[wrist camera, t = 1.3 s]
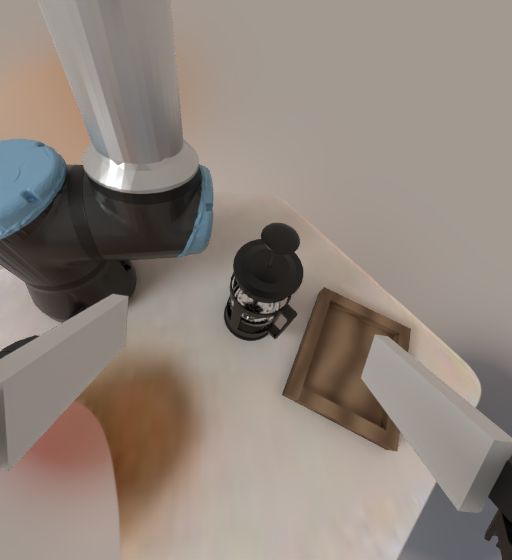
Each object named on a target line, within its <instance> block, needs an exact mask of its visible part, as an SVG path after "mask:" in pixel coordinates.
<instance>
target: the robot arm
mask: <svg viewBox="0 0 512 560" xmlns="http://www.w3.org/2000/svg"><path fill="white" fill-rule="evenodd" d="M37 1H38V4H39V7H40V9H41V12H42V14H43V17H44V20H45V22H46V25H47V27H48V30H49V33H50V35H51V38H52V40H53V43H54V46H55V48H56V51H57V53H58V56H59V59H60V61H61V64H62V66H63V69H64V71H65V74H66V77H67V79H68V82H69V84H70V87H71V89H72V92H73V95H74V97H75V100H76V103H77V105H78V108H79V110H80V113H81V116H82V118H83V121H84V123H85V126H86V128H87V131H88V134H89V136H90V139H91V144H90V145H89V146H88V148H87V149H86V151H85V152H84V155H83V158H82V163H83V165H66V163H65V161H64V159H63V158H62V157H61V155H60V154H58V153H57V152H56V151H55V150H54V149H53V148H51V147H49V146H46V145H45V144H43V143H41V142H38V141H34V140H27V139H11V140H2V141H0V265H2V266H3V267H4V268H6V269H7V270H9V271H10V272H11V273H13V274H14V275H16V276H17V277H18V278H20V279H21V280H23V281H24V282H25V283H26V286H27V288H28V290H29V293H30V295H31V297H32V300H33V302H34V303H35V305H36V306H37V307H38V308H39V309H40V310H41V311H42V312H43V313H45V314H46V315H48V316H49V317H51V318H52V319H54V320H56V321H59V322H62V324H60V325H58V326H56V327H55V328H53V329H51V330H49V331H48V332H46V333H44V334H43V335H41V336H36V335H35V336H32V337H29V338H26V339H23V340H20V341H17V342H15V343H13V344H11V345H9V346H8V347H6V348H4V349H2V351H0V470H1V471H10V469H11V468H12V467H13V466H14V465H15V464H16V463H17V462H18V461H19V459H20V458H22V456H23V455H24V454H25V453H26V452H27V451H28V450H29V449H30V448H31V447H32V446H33V445H34V444H35V442H36V441H37V440H38V439H39V438H40V437H41V436H42V435H43V434H44V433H45V432H46V431H47V430H48V428H49V427H50V426H51V425H52V424H53V423H54V422H55V421H56V420H57V419H58V418H59V417H60V416H61V414H62V413H63V412H64V411H65V410H66V409H67V408H68V407H69V406H70V405H71V404H72V403H73V401H74V400H75V399H76V398H77V397H78V396H79V395H80V394H81V393H82V392H83V391H84V390H85V389H86V387H87V386H88V385H89V384H90V383H91V382H92V381H93V380H94V379H95V378H96V377H97V376H98V375H99V373H100V372H101V371H102V370H103V369H104V368H105V367H106V366H107V365H108V364H109V363H110V362H111V360H112V359H113V358H114V357H115V356H116V355H117V354H118V353H119V352H120V351H121V350H122V349H123V348H124V346H125V342H126V327H127V312H128V300H129V298H130V297H131V295H132V293H133V291H134V288H135V285H136V272H135V269H134V267H133V265H132V263H131V261H130V260H142V259H157V258H172V257H176V258H179V257H182V256H185V255H192V254H198V253H201V252H202V251H204V250H205V249H206V247H207V246H208V244H209V241H210V237H211V231H212V223H213V209H212V207H213V186H212V185H213V184H212V178H211V174H210V171H209V170H208V168H206V167H205V166H202V165H200V164H199V158H198V155H197V153H196V151H195V150H194V149H193V148H192V147H191V146H190V145H189V144H188V143H187V142H186V141H185V140H184V139H183V132H182V121H181V111H180V99H179V88H178V77H177V66H176V55H175V44H174V34H173V22H172V12H171V0H37ZM361 379H362V380H363V381H364V383H365V384H366V385H367V387H368V388H369V390H370V391H371V392H372V394H373V395H374V396H375V398H376V399H377V401H378V402H379V403H380V405H381V406H382V407H383V409H384V410H385V411H386V413H387V414H388V416H389V417H390V418H391V420H392V421H393V422H394V424H395V425H396V426H397V428H398V429H399V431H400V432H401V433H402V435H403V436H404V437H405V439H406V440H407V441H408V443H409V444H410V446H411V447H412V448H413V450H414V451H415V452H416V454H417V455H418V456H419V458H420V459H421V461H422V462H423V463H424V465H425V466H426V467H427V469H428V470H429V471H430V473H431V474H432V476H433V477H434V478H435V480H436V481H437V482H438V484H439V485H440V486H441V488H442V489H443V490H444V492H445V493H446V494H447V496H448V497H449V499H450V500H451V501H452V503H453V504H454V505H455V507H456V508H457V510H458V511H466V512H476V513H481V511H482V509H483V507H484V505H485V503H486V502H487V500H488V498H490V499H491V501H492V502H493V503H494V504H495V505H496V506H497V507H498V511H497V513H496V515H495V516H494V518H493V520H492V522H491V524H490V525H489V527H488V529H487V531H486V533H485V539H486V540H488V541H490V539H491V537H492V536H498V540H499V541H498V543H497V544H496V547H498V548H499V549H500V550H501V555H502V560H512V438H511V437H510V436H509V435H508V434H506V433H505V432H504V431H502V430H501V429H500V428H499V427H498V426H496V425H495V424H494V423H493V422H492V421H490V420H489V419H488V418H487V417H486V416H484V415H483V414H482V413H481V412H480V411H478V410H477V409H476V408H475V407H473V406H472V405H471V404H470V403H469V402H467V401H466V400H465V399H464V398H463V397H461V396H460V395H459V394H458V393H456V392H455V391H454V390H453V389H452V388H450V387H449V386H448V385H447V384H445V383H444V382H443V381H442V380H441V379H439V378H438V377H437V376H436V375H434V374H433V373H432V372H431V371H430V370H428V369H427V368H426V367H425V366H424V365H422V364H421V363H420V362H419V361H417V360H416V359H415V358H414V357H413V356H411V355H410V354H409V353H408V352H406V351H405V350H404V349H403V348H402V347H400V346H399V345H398V344H397V343H395V342H394V341H393V340H392V339H391V338H389V337H388V336H382V335H376V334H375V336H374V339H373V342H372V345H371V348H370V351H369V354H368V357H367V361H366V364H365V367H364V370H363V373H362V376H361Z"/></svg>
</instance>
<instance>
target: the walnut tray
mask: <svg viewBox="0 0 512 560" xmlns="http://www.w3.org/2000/svg"><path fill="white" fill-rule="evenodd" d="M410 331H411V329H410V328H408V327H406V326H403V325H401V324H399V323H397V322H395V321H393V320H391V319H389V318H387V317H385V316H383V315H381V314H379V313H376V312H374V311H372V310H370V309H368V308H366V307H364V306H362V305H360V304H358V303H356V302H354V301H352V300H350V299H347V298H345V297H343V296H341V295H339V294H337V293H335V292H333V291H331V290H329V289H327V288H325V287H324V288H323V289H322V290H321V291H320V292H319V295H318V297H317V300H316V303H315V306H314V308H313V311H312V314H311V317H310V319H309V322H308V325H307V328H306V330H305V333H304V336H303V339H302V342H301V344H300V347H299V350H298V353H297V355H296V358H295V361H294V364H293V366H292V369H291V372H290V375H289V377H288V380H287V383H286V386H285V388H284V391H283V394H282V395H284V396H285V397H287V398H289V399H291V400H293V401H295V402H297V403H299V404H301V405H303V406H304V407H306V408H308V409H310V410H312V411H314V412H316V413H318V414H320V415H322V416H324V417H325V418H327V419H329V420H331V421H333V422H335V423H337V424H339V425H341V426H343V427H344V428H346V429H348V430H350V431H352V432H354V433H356V434H358V435H360V436H362V437H364V438H365V439H367V440H369V441H371V442H373V443H375V444H377V445H379V446H381V447H383V448H384V449H386V450H392V451H397V450H398V441H399V432H400V431H399V429H398V428H397V426H396V425H395V424H394V422H393V421H392V420H391V418H390V417H389V416H388V414H387V413H386V411H385V410H384V409H383V407H382V406H381V405H380V403H379V402H378V401H377V399H376V398H375V396H374V395H373V394H372V392H371V391H370V390H369V388H368V387H367V385H366V384H365V383H364V381H363V380H362V379H361V376H362V373H363V370H364V367H365V364H366V361H367V357H368V354H369V351H370V348H371V345H372V342H373V339H374V336H375V334H376V335H382V336H388V337H389V338H391V339H392V340H393V341H394V342H395V343H397V344H398V345H399V346H400V347H402V348H403V349H404V350H405V351H406V352H408V349H409V340H410Z"/></svg>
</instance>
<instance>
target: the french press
mask: <svg viewBox="0 0 512 560" xmlns="http://www.w3.org/2000/svg"><path fill="white" fill-rule="evenodd" d="M299 244H300V239H299V236H298V234H297V232H296V231H295V230H294V229H293V228H291V227H290V226H288V225H286V224H283V223H272V224H269V225H267V226H266V227H265V228H264V229H263V230H262V233H261V239H258V240H254V241H250V242H248V243H247V244H245V245H244V246H242V247H241V248H240V249H239V251H238V252H237V254H236V256H235V258H234V264H233V268H234V272H233V275H232V277H231V282H230V297H229V299H228V302H227V305H226V307H225V312H224V320H225V324H226V326H227V328H228V329H229V330H230V332H231V333H232V334H233V335H235V336H236V337H238V338H240V339H243V340H247V341H255V340H259V339H261V338H263V337H265V336H266V335H267V334H268V333H269V334H270V335H271V336H272V337H273V338H274V339H276V338H277V337H278V336H279V335H280V334H281V333H282V332H283V331H284V330H285V329H286V327H287V326H288V325H289V324H290V323H291V322H292V320H293V319H294V318H295V317H296V316H297V313H296V311H295V310H293V309H292V308H291V307H290V306H289V305H288V302H289V301H290V299H291V295H292V294H293V293H295V292H296V290H297V289H298V288H299V286H300V284H301V283H302V279H303V267H302V264H301V261H300V259H299V258H298V256H297V255H296V253H295V251H296V250H297V249H298V247H299ZM234 276H235V279H234V284H233V290H232V281H233V278H234ZM287 297H288V300H287V302H286V304H285V305H284V306H283V307H282V308H281V309H280V306H281V302H280V301H282V300H284V299H285V298H287ZM231 312H232V315H231ZM280 314H282V315H283V316H284V317H285V318H286V319H287V322H286V324H285V325H284V326H283V327H282V328H281V330H279V329H278V328H277V327H276V326H275V325H274V323H275V322H276V320H277V319H278V317H279V316H280ZM240 322H242V323H244V324H246V325H249V326H264V325H266V326H265V327H264V328H263V329H262V330H260V331H258V332H254V333H249V332H245V331H242V330H241V329H239V328H238V326H239V323H240Z"/></svg>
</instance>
